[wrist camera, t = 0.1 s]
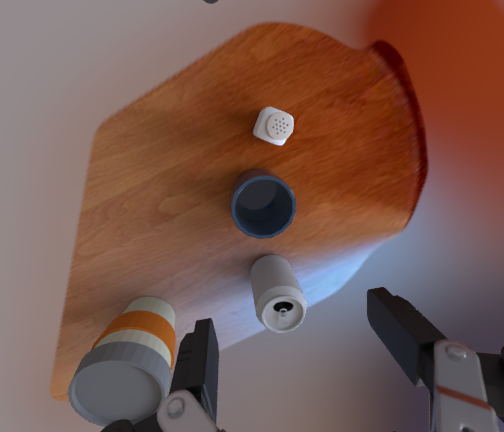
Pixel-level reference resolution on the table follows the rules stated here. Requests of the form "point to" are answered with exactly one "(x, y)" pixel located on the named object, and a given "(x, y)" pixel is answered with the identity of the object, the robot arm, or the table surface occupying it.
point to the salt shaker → (273, 126)
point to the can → (277, 294)
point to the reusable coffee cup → (127, 366)
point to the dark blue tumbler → (262, 204)
